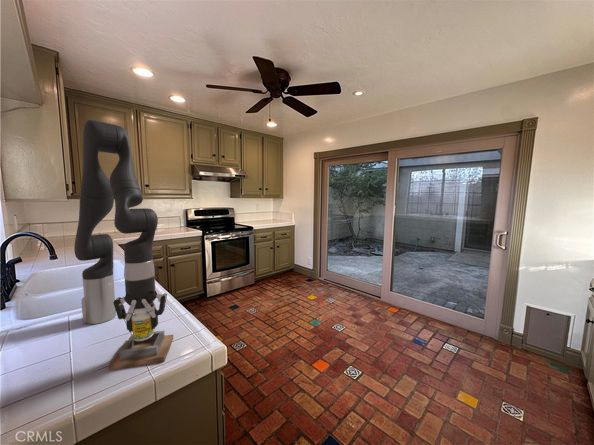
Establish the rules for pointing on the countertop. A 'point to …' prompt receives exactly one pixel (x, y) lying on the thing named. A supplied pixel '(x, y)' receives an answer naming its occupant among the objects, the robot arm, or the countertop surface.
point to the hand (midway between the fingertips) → (142, 328)
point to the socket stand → (142, 351)
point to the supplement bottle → (141, 325)
